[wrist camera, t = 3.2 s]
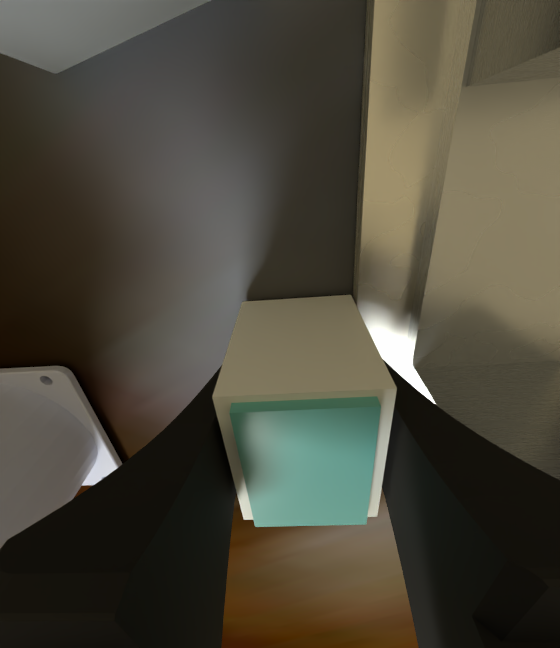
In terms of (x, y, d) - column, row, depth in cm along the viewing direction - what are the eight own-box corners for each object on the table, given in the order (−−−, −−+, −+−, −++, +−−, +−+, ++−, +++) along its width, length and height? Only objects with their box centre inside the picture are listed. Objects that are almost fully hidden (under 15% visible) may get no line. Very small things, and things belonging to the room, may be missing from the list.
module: (257, 401, 13) (242, 530, 9) (242, 301, 11) (209, 407, 6) (346, 397, 13) (379, 527, 8) (350, 294, 10) (401, 398, 6)
